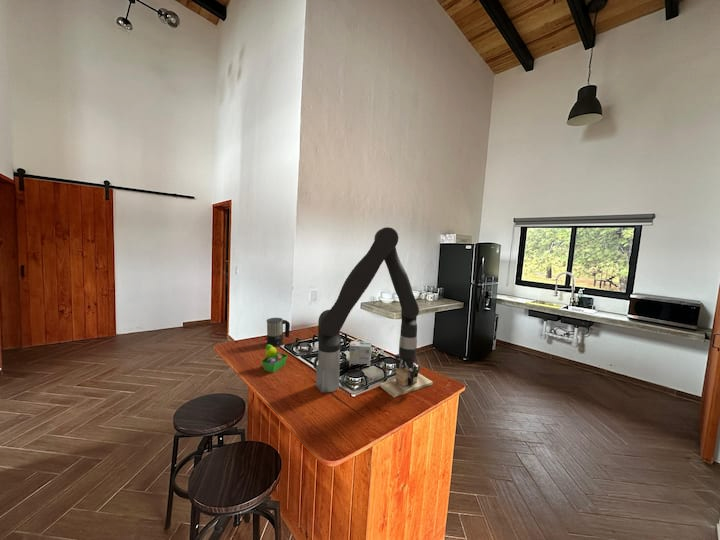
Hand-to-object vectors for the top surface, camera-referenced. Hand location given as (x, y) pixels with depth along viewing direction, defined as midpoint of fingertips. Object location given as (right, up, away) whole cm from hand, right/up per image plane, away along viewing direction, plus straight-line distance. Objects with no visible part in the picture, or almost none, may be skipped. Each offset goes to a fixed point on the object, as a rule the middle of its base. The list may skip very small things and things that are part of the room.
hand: (405, 381), depth 128 cm
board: (0, -2, 0) cm, 2 cm away
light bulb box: (-20, +1, +20) cm, 29 cm away
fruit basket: (-62, +2, +13) cm, 64 cm away
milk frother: (-72, +6, +46) cm, 85 cm away
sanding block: (0, 0, 0) cm, 0 cm away
